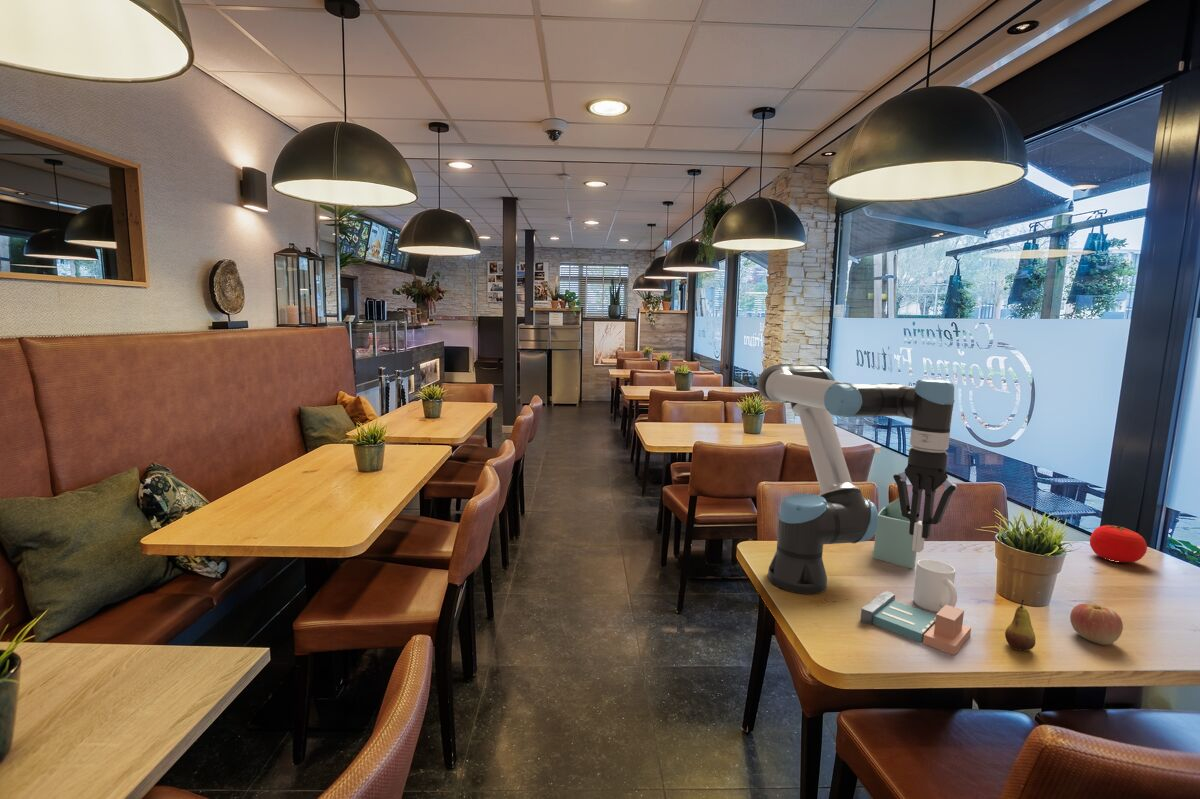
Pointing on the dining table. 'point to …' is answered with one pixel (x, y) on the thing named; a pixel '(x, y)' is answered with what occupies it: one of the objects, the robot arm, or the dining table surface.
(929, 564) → the mug
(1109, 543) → the tomato
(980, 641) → the dining table surface
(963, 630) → the stub
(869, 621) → the grey end rail
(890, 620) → the striped teal tile
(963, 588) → the dining table surface
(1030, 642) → the fruit
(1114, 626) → the apple
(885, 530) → the pale teal hollow box
